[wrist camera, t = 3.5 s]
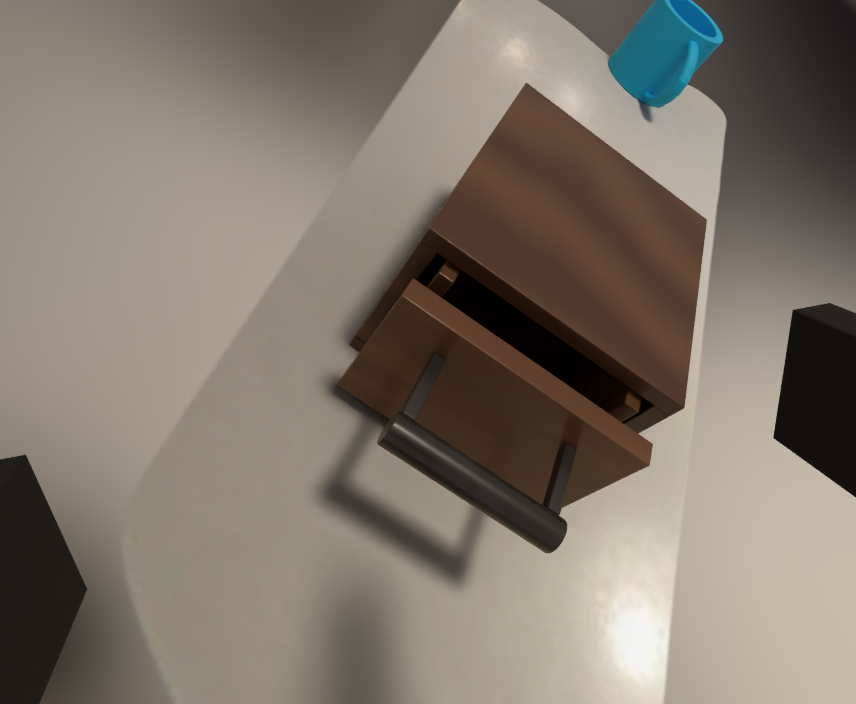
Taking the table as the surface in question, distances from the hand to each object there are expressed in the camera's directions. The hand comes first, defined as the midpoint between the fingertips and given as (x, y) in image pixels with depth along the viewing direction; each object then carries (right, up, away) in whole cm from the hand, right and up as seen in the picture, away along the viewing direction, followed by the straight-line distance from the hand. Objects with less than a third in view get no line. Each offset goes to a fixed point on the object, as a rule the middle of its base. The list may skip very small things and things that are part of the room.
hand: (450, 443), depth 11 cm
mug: (+23, +31, +57) cm, 69 cm away
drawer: (+2, 0, +23) cm, 23 cm away
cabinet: (+4, +3, +28) cm, 28 cm away
